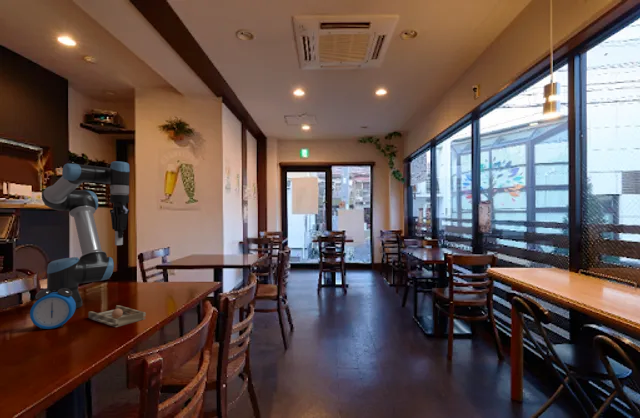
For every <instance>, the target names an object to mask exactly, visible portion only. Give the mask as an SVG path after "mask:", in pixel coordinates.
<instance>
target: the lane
mask: <svg viewBox="0 0 640 418" xmlns="http://www.w3.org/2000/svg"><path fill="white" fill-rule="evenodd" d="M115 309H121V310H122V311H123V314H122V316H121V317H120V318H113V317H112V312H113V310H115ZM115 309H111V310H106V311H103V312H95V311H88V319H90V320H93V321H96V322H99V323H101V324H105V325H108V326H110V327H113V328H118V327H122V326H126V325H129V324H133V323H136V322H140V321H144V320H146V319H147V318H146V315H147V313H146V311H141V310H137V309H133V308H131V307H128V306H127V307H126V306H123V305H117V304H116V306H115Z"/></svg>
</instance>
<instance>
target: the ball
mask: <svg viewBox="0 0 640 418" xmlns="http://www.w3.org/2000/svg"><path fill="white" fill-rule="evenodd" d="M112 310H113V312H112V317H113V318H120V317H121V316H122V314H123V311H122V310H121V309H116V308H115V310H114V309H112Z"/></svg>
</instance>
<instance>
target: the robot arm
mask: <svg viewBox="0 0 640 418" xmlns="http://www.w3.org/2000/svg"><path fill="white" fill-rule="evenodd" d="M61 170H62V171H61V175H62V176H61V177H59V179H58V180H57V181H56V182H55V183H54V184H52V185H49V186H47V187H46V188H45V189H44V190H43V192H42V193H41V200H42V202H43V203H44V205H46V207H48V208H50V209H52V210H55V211H60V212H61V211H64V212H67V211H68V213H69V215H70V216H71V217H72V218H74V224H75V227H76V228H75V229H76V233H77V237H78V242H79V246H80V251H81V256H80V257H78V256H77V257H75V256H74V257H66V258H65V257H64V258H60V259H55V260H52V261H50V262H49V263H48V264H47V270H46V276H47V277H46V289H48V290H50V291H51V292H50V293H53V292H58V290H59V289H61V288H68V289H70V290H71V291H72V295H71V297H72V298H73V299H74V301H75V303H76V309H79V308H81V307H83V299H82V297H81V294H80V290H79V285H80V284H86V283H93V282H101V281H106V280H108V279H110V278H111V276H112V274H113V273H114V266H115V264H114V258H113V257H111V256H107V253H106V251H103V250H102V246H101V242H100V237H99V233H98V229H97V228H98V227H97V224H96V221H95V217H94V214H95V213H96V211H97V210H98V207H99V199H98V196H97V194H96V193H95V192H94V191H91V190H86V189H77V188H78V187H79V186H81V184H83V183H84V182H86V183H99V184H104V185H105V184H106V185H110V186H109V189H110V191H109V192H110V195H109V199H110V200H109V202H110V203H111V204H113V205H112V209H110V210H109V214H110V219H111V228H112V230H114V246H122V245H124V231H125V230H127V225H128V219H129V218H128V216H129V213H130V209H129V208H127V204H129V202H130V196H129V195H130V170H131V169H130V164H129V163H128V162H125V161H116V160H114V161H112V162H111V163H110V166H109V167H104V166H96V165H87V164H78V163H65V164H64V165H63V166H62V169H61ZM53 290H56V291H53ZM50 293H48V294H50Z"/></svg>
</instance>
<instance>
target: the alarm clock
mask: <svg viewBox="0 0 640 418" xmlns="http://www.w3.org/2000/svg"><path fill="white" fill-rule="evenodd" d="M53 291H56V290H53ZM50 292H51V291H50V290H48V289H47V288H46V289H45V288H44V289H40V290H39V291H38V292H37V293H36V294H35V299H36V301H35V302H34V303H33V304H32V306H31V307H30V311H29V318H30V320H31V322H32V323H33V325H35V326H36V327H38V328H39V330H40V331H42V329H47V330H52V329H56V328H60V327H61V328H63V327H64V326H63V325H64V324H66V323H67V322H68V321H69V320H70V319H71V318H72V317H73V316H74V314H75V312H76V309H77V308H76V303H75V301H74V299H73V298H72V297H71V295H72V291H71V290H70V289H68V288H61V289H59V290H58V292H53V293H50ZM48 293H50V294H48Z"/></svg>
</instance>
